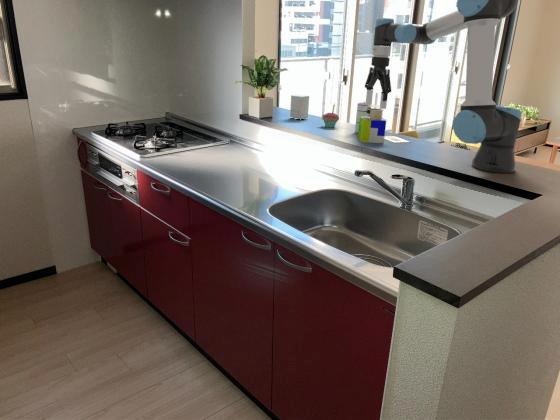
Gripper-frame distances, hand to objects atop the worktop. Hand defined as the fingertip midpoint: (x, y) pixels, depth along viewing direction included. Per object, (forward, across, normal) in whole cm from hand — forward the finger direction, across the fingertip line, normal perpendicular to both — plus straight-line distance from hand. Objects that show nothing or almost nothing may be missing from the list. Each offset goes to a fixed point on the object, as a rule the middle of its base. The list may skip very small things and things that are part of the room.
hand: (375, 106), depth 215 cm
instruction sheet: (+15, -2, +12) cm, 20 cm away
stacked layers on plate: (+6, 0, 0) cm, 6 cm away
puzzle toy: (+16, 0, 0) cm, 16 cm away
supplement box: (+15, -56, -16) cm, 60 cm away
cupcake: (+15, -32, -7) cm, 36 cm away
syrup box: (+15, -18, +4) cm, 24 cm away
